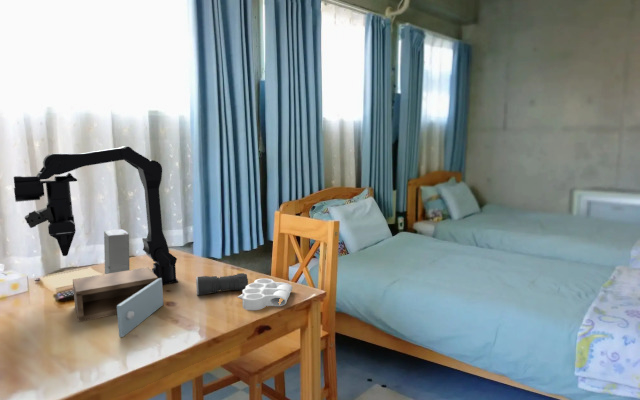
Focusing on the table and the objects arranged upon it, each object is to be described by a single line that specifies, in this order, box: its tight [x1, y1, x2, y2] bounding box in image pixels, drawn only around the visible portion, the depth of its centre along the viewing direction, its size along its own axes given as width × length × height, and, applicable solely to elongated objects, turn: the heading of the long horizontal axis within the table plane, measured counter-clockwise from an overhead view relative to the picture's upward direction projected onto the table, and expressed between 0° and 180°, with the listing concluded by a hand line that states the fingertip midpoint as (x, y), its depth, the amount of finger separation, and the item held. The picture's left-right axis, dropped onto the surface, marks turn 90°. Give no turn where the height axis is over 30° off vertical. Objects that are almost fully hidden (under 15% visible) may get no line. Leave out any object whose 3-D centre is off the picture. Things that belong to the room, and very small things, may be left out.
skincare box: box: [103, 228, 130, 274], centre depth 147 cm, size 8×7×16 cm
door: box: [116, 278, 164, 338], centre depth 112 cm, size 20×2×8 cm, turn 173°
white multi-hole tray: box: [237, 278, 293, 311], centre depth 127 cm, size 3×18×15 cm
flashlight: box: [195, 272, 249, 296], centre depth 133 cm, size 15×5×5 cm, turn 107°
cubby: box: [72, 266, 158, 323], centre depth 122 cm, size 20×12×8 cm, turn 123°
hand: (65, 252), depth 125 cm, fingers open, 9 cm apart
